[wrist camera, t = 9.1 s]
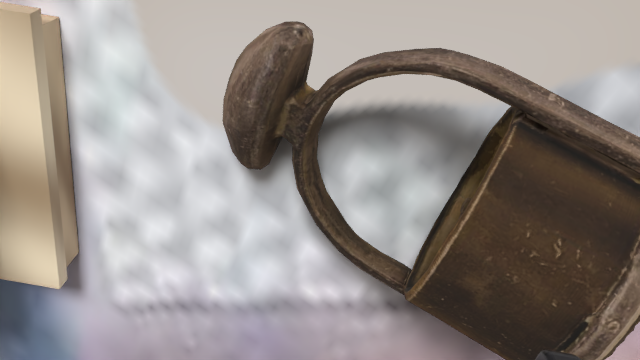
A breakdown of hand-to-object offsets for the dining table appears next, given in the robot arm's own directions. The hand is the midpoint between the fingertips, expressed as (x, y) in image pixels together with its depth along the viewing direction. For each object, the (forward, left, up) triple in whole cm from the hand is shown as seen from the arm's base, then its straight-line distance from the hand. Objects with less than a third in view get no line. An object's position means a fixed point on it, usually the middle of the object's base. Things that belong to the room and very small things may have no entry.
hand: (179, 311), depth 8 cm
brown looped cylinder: (-2, -5, -12) cm, 13 cm away
